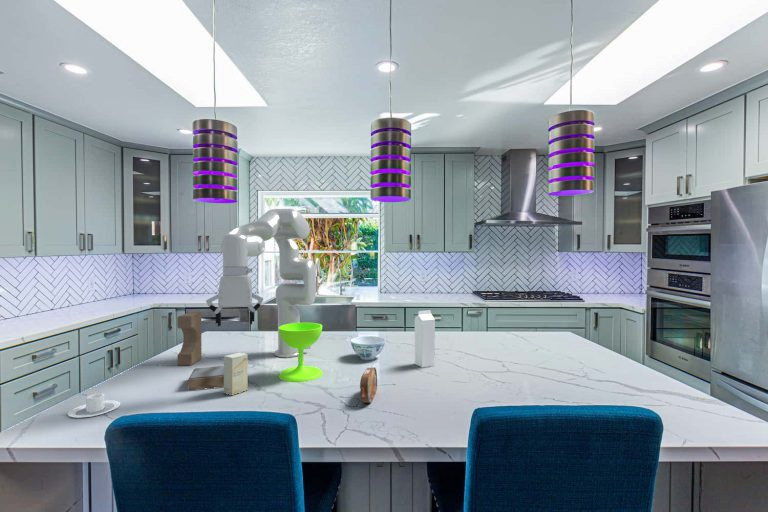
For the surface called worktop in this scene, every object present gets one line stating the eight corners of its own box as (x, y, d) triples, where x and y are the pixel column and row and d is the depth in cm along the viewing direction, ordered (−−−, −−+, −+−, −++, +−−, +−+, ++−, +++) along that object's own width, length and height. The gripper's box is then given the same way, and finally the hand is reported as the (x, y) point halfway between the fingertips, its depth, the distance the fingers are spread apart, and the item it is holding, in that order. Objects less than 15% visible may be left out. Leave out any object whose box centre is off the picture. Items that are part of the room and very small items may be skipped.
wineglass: (331, 374, 141) (331, 326, 141) (294, 385, 129) (294, 333, 129) (306, 365, 152) (306, 321, 152) (270, 375, 140) (270, 326, 140)
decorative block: (191, 365, 152) (191, 316, 152) (176, 366, 151) (176, 316, 151) (202, 358, 163) (202, 311, 163) (188, 358, 162) (188, 312, 162)
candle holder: (103, 419, 104) (102, 403, 104) (56, 420, 103) (56, 405, 103) (128, 402, 116) (128, 388, 116) (87, 403, 115) (87, 389, 115)
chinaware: (391, 356, 166) (391, 338, 166) (372, 365, 153) (372, 346, 153) (363, 351, 174) (363, 334, 174) (343, 359, 161) (343, 341, 161)
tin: (369, 407, 111) (368, 379, 111) (358, 406, 112) (358, 378, 112) (378, 389, 126) (378, 364, 126) (368, 388, 127) (368, 363, 127)
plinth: (229, 375, 140) (229, 364, 140) (227, 386, 128) (227, 374, 128) (193, 379, 136) (193, 368, 136) (188, 390, 124) (188, 378, 124)
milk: (414, 363, 155) (414, 310, 155) (427, 362, 157) (426, 309, 157) (422, 367, 149) (422, 312, 149) (435, 365, 152) (434, 311, 152)
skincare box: (231, 396, 120) (231, 358, 119) (223, 393, 122) (222, 356, 122) (248, 390, 125) (248, 353, 125) (239, 387, 127) (239, 351, 127)
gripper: (263, 271, 129) (263, 321, 129) (207, 272, 124) (207, 324, 124) (263, 272, 122) (263, 325, 122) (204, 273, 117) (204, 328, 117)
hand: (235, 324), depth 123 cm, fingers open, 9 cm apart
